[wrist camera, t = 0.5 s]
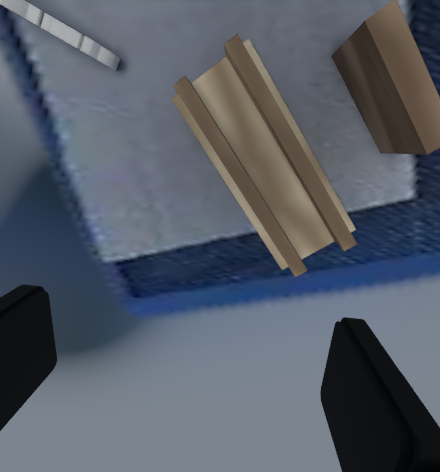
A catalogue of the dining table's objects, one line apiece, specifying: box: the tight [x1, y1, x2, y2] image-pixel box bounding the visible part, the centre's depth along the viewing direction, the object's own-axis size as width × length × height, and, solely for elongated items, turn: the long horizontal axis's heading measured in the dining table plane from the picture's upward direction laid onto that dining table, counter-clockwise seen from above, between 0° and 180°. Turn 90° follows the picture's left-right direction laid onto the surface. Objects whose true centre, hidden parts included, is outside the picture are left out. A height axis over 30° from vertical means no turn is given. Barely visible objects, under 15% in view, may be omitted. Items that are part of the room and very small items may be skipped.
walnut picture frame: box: [331, 0, 440, 154], centre depth 27 cm, size 2×12×9 cm, turn 34°
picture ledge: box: [172, 34, 357, 277], centre depth 32 cm, size 10×24×6 cm, turn 34°
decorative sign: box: [0, 0, 120, 71], centre depth 29 cm, size 18×1×10 cm, turn 62°
